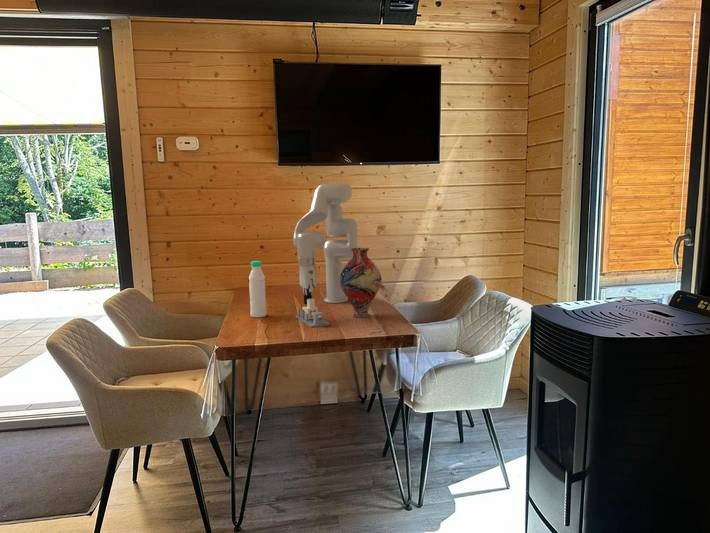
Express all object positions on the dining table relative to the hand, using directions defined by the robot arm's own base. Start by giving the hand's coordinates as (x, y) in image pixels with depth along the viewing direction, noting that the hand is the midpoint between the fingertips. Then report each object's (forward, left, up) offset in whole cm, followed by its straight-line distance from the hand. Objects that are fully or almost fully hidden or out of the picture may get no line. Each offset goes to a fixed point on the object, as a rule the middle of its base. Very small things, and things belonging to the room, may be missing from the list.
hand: (308, 303), depth 209 cm
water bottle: (+18, -17, -7) cm, 25 cm away
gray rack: (0, +4, -7) cm, 8 cm away
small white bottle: (0, +4, -5) cm, 7 cm away
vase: (-23, +5, -7) cm, 25 cm away
